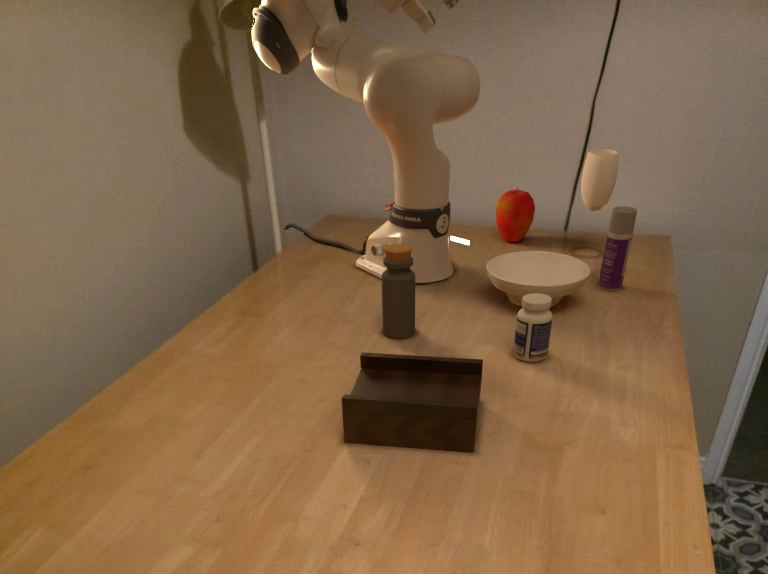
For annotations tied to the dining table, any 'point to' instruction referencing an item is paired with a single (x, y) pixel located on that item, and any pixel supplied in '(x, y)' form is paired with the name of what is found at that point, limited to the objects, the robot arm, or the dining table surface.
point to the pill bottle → (533, 328)
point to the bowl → (537, 274)
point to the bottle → (398, 292)
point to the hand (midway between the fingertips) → (443, 16)
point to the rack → (414, 402)
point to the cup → (599, 178)
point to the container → (617, 248)
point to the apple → (514, 214)
